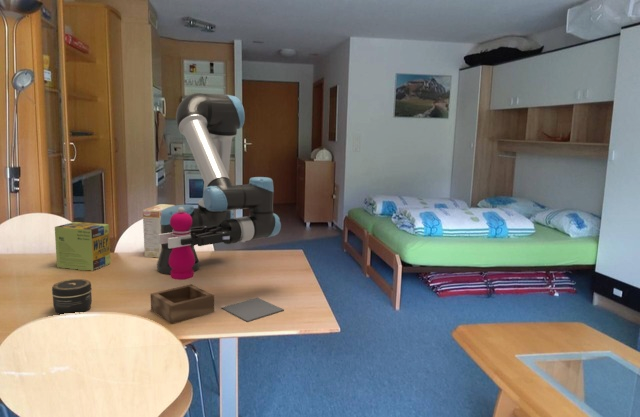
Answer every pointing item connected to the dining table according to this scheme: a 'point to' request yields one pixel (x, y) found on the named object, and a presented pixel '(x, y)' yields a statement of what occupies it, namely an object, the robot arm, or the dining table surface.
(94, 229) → the protein box
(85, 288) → the jar
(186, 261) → the pepper mill
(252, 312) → the mat
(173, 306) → the walnut box
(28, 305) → the dining table surface
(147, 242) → the coffeecake box
